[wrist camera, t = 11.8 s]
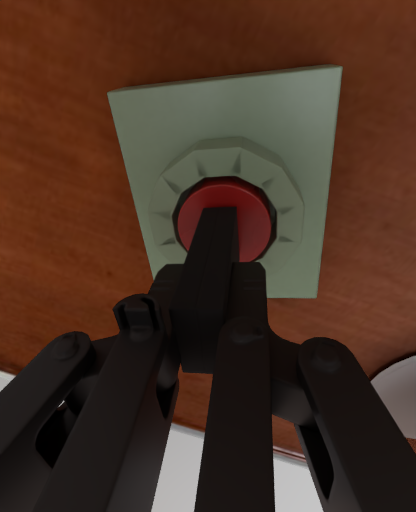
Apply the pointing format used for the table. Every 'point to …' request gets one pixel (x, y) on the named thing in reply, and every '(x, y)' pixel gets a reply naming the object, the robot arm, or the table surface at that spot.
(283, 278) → the control block
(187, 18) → the table surface
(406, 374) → the chalice
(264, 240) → the button
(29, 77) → the table surface
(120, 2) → the table surface
